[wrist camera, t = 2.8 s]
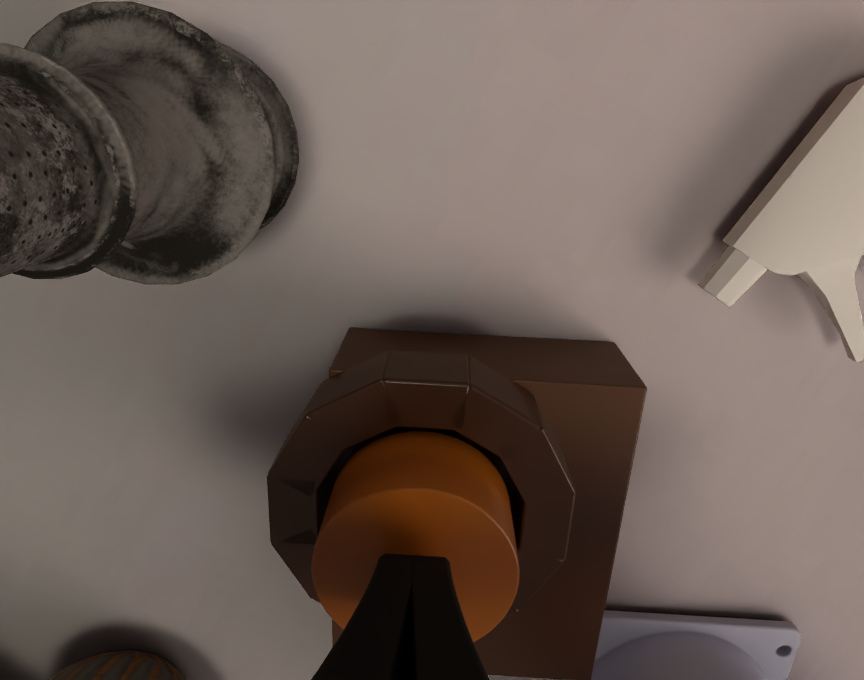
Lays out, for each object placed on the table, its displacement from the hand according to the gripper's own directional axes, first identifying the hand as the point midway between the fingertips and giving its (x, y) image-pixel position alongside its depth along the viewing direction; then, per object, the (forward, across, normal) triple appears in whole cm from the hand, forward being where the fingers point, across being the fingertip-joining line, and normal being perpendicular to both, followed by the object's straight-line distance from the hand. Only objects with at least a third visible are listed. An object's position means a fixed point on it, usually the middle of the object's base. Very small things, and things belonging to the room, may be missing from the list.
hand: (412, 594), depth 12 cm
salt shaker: (+8, +6, -8) cm, 13 cm away
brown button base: (+7, -2, +2) cm, 8 cm away
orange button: (+3, 0, 0) cm, 3 cm away
